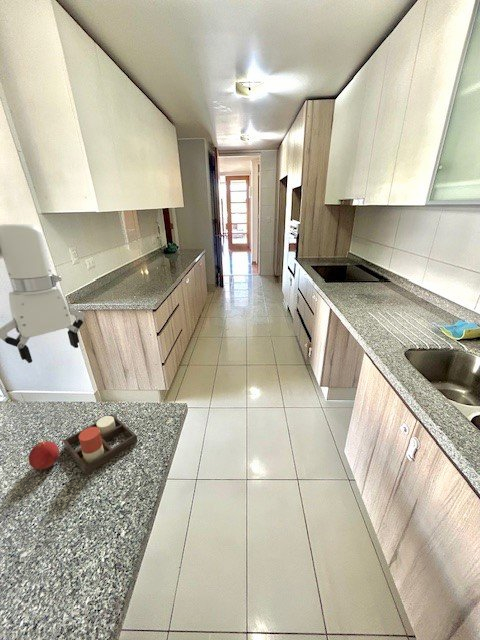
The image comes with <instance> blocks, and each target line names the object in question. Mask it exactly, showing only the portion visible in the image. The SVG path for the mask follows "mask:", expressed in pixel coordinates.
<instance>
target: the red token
mask: <svg viewBox="0 0 480 640" xmlns="http://www.w3.org/2000/svg"><path fill="white" fill-rule="evenodd" d="M86 428H87V427H86ZM84 429H85V428H84ZM82 430H83V429H82ZM82 430H81V431H82ZM78 442H79V443H80V449H81V448H82V452H83V453H86V454H90V453H93V452H95V451H97V450H98V449H100V447H101V446H102V439H101V434H100V430H99V428H97V427H90V428H87V429H85V430H83V431H82V432H81V433H80V434H79V441H78Z"/></svg>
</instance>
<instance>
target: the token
mask: <svg viewBox="0 0 480 640" xmlns="http://www.w3.org/2000/svg"><path fill="white" fill-rule="evenodd" d="M96 422H97V423H96ZM96 422H95V423H96V425H97V428H99V430H100V434H101V436H103V435H104V434H106V433H108V432H109V431H111V430H113V429H115V428H116V427H117V426H116V425H115V421H114V418H113V417H112V416H109V415H105V416H102V417H100V418H99V419H98V420H97V421H96Z"/></svg>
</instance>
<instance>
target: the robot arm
mask: <svg viewBox="0 0 480 640" xmlns="http://www.w3.org/2000/svg"><path fill="white" fill-rule="evenodd" d="M1 259H2V260H3V262H4V265H5V269H6V273H7V275H8V278H9V282H10V285H11V288H12V291H10V292H8V301H9V309H10V314H11V317H12V320H10V321H9V322H7V323H5V324H4V325H2V326H1V327H0V340H2V341H3V342H4V343H6V344H7V345H11V346H14V347H16V348H17V351H18V353H19V356H20V358H21V360H22V361H24V360H25V361H26V362H27V363H28V364H32V362H33V359H32V355H31V352H30V349H29V346H27V343H28V341H29V340H30V338H34V337H38V336H42V335H45V334H49V333H53V332H57V331H61V330H64V329H68V330H67V335H68V340H69V344H70V345H71V347H73V348H74V349H78V348H79V343H80V339H79V334H78V333H79V331H80V329H81V327H82V325H83V324H84V319H85V317H86V312H84V311H82V310H77V309H74V308H73V309H72V308H69V306H68V304H67V302H66V299H65V296H64V294H63V292H62V290H61V288H60V287H59V286H57V283H58V282H62V277H61V275H59V274H58V275H55V274H54V273H53V270H52V265H51V262H50V258H49V253H48V249H47V245H46V242H45V237H44V234H43V230H42V229H41V228H40V227H39V226H38V225H36V224H29V223H27V224H26V223H5V224H0V260H1ZM72 316H76V319H75V320H74V321H72ZM72 322H73V323H72ZM14 329H15V331H16V332H17V337H15V338H14V337H12V336H9V335H8V334H9V333H10V332H11V331H13V330H14Z"/></svg>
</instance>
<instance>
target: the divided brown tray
mask: <svg viewBox="0 0 480 640" xmlns="http://www.w3.org/2000/svg"><path fill="white" fill-rule="evenodd" d="M108 416H112V417H113V418H114V421H115V426H116V428H115V429H113V430H111V431H109V432H108V433H106V434H104V435H103V436H101V439H102V445H103V449H104V453H105V454H104V455H102V456H100V457H99V458H97V459H96V460H94V461H93V462H91V463H90V464H88V465H86V464H85V461H84V457H83V454H82V448H81V447H80V448H79V449H77V450H74V448H73V447H72V446H74V445H75V444H77V443H79V442H80V441H79V434H80V433H81V432H82V431H83V430H85V429H87V428H90V427H97V425H96V423H97V421H96V422H94V423H93V424H91V425H89V426H87V427H85V428H83V429H82V430H80V431H78V432H76V433H74V434H73V435H71V436H69V437H66V438H65V439H64V440H62V442H63V447H64V449H65V450H66V451H67V453H68V454H69V455H70V456H71V458H72V459H73V460H74V461H75V464H77V466H78V467H79V468H80V469H81V471H82V472H83V473H84V474H85V476H86V477H87V476H89V475H91V474H92V473H94V472H95V471H96V470H98V469H100V468H101V467H102V466H105V464H107V463H108V462H110V461H111V460H113V459H114V458H116V457H117V456H119V455H120V454H122V453H123V452H124V451H126V450H128V449H129V448H130V447H132V446H134V445H135V444H137V443H138V437H137V434H136V433H134V431H133V430H132V429H130V428H129V427H128V426H127V425H125V423H124V422H122V421H121V420H120V419H118V418H117V416H115V415H114V414H113V413H110V414H109V415H108ZM123 433H124V434H125V435H126V436H127V437H128V438H127V439H125V440H123V441H121V442H120V443H119V444H117V445H115V446H114V447H113V448H112V447H111V445H110V444H109V443H108V442H110V441H112V440H113V439H115V438H117V437H118V436H120V435H121V434H123Z"/></svg>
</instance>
